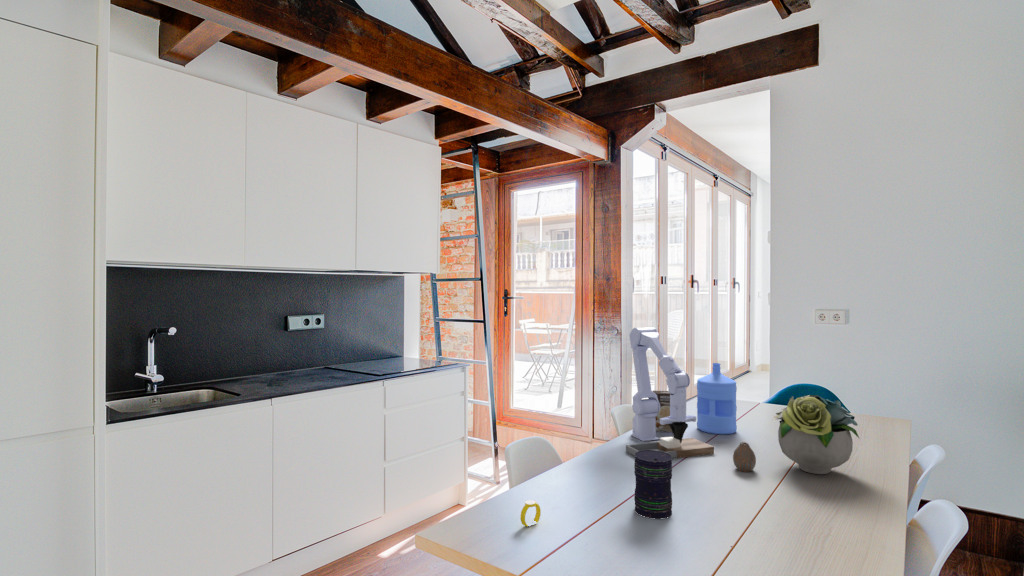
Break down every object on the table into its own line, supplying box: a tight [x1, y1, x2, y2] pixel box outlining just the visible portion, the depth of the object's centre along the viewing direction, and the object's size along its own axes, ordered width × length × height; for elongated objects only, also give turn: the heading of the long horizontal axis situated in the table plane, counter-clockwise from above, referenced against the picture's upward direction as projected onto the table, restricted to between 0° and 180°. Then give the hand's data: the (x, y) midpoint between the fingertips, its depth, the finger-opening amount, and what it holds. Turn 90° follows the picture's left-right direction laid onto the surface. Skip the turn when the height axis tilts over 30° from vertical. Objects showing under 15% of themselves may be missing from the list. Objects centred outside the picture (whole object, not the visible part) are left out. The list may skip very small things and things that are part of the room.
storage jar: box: [633, 450, 673, 520], centre depth 141 cm, size 10×10×15 cm
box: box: [625, 441, 678, 460], centre depth 188 cm, size 12×13×2 cm
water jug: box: [696, 362, 738, 435], centre depth 221 cm, size 16×16×28 cm
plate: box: [657, 437, 715, 459], centre depth 193 cm, size 12×16×2 cm
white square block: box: [659, 436, 680, 449], centre depth 190 cm, size 5×5×2 cm
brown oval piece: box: [732, 441, 757, 473], centre depth 173 cm, size 7×7×9 cm
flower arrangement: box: [772, 394, 860, 475], centre depth 172 cm, size 25×25×24 cm
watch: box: [520, 499, 542, 527], centre depth 132 cm, size 6×3×6 cm, turn 133°
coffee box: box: [652, 390, 672, 433], centre depth 221 cm, size 9×6×16 cm
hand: (678, 442), depth 192 cm, fingers closed
